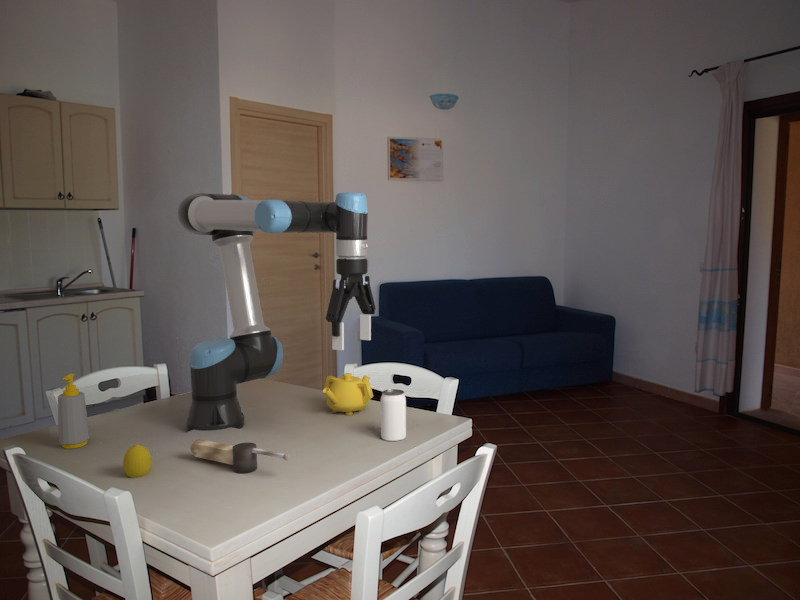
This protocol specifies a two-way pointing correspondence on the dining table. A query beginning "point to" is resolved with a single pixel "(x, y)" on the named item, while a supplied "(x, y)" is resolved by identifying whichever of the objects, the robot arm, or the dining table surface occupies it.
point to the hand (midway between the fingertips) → (352, 344)
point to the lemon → (137, 461)
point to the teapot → (347, 393)
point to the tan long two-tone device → (233, 454)
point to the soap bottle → (72, 417)
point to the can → (393, 415)
